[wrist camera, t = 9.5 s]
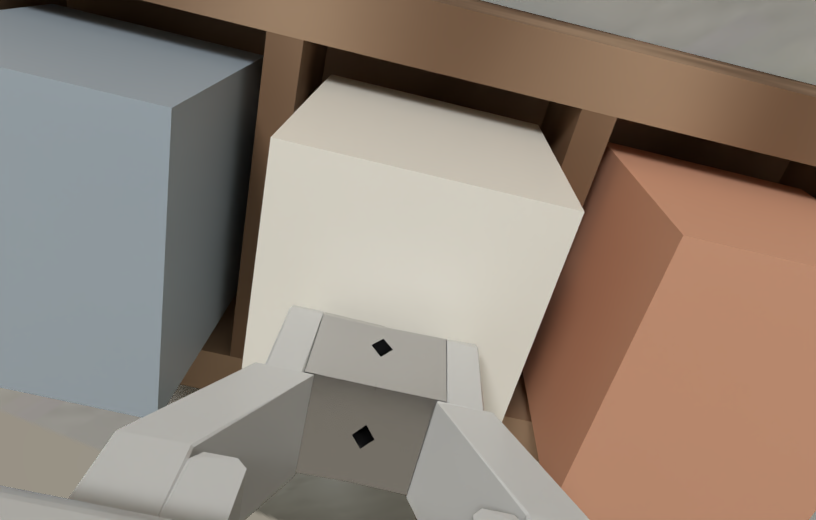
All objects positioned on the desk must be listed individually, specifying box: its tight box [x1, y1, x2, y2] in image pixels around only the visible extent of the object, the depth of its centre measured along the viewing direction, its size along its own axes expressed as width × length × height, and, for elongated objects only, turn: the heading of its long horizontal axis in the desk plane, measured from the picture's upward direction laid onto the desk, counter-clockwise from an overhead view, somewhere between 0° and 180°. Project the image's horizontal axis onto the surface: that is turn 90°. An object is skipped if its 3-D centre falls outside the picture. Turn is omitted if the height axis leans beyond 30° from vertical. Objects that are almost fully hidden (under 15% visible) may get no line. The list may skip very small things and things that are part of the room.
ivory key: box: [242, 74, 584, 422], centre depth 12 cm, size 5×6×5 cm
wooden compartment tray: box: [0, 0, 816, 461], centre depth 15 cm, size 20×10×4 cm, turn 77°
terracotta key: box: [522, 142, 816, 520], centre depth 12 cm, size 5×6×5 cm
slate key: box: [0, 4, 264, 417], centre depth 12 cm, size 5×6×5 cm
